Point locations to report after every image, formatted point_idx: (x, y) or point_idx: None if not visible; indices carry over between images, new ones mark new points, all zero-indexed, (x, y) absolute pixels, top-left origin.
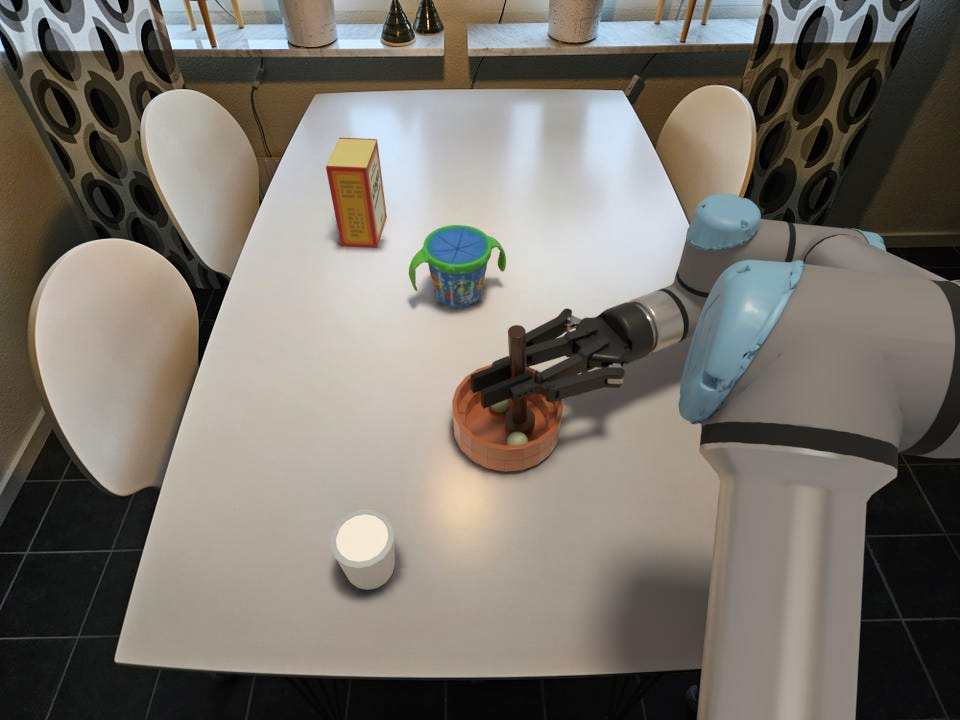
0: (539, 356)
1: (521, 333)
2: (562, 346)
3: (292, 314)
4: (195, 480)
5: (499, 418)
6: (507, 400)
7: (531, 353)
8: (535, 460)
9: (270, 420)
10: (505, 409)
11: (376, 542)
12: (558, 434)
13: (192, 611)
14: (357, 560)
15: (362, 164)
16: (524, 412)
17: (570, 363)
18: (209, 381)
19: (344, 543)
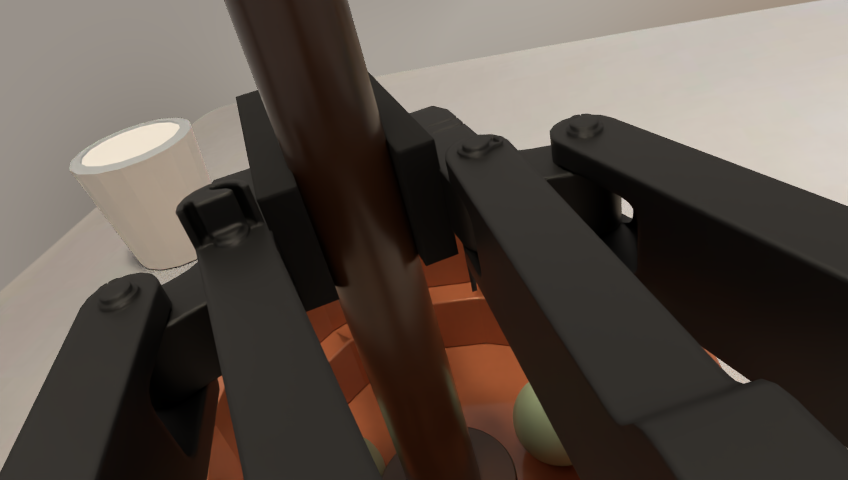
0: (494, 276)
1: None
2: (589, 405)
3: (823, 47)
4: (415, 79)
5: (509, 445)
6: (544, 429)
7: (463, 189)
8: None
9: (520, 96)
10: (521, 442)
11: (107, 159)
12: None
13: (231, 125)
14: (95, 148)
15: None
16: (395, 447)
17: (264, 431)
18: (601, 39)
19: (138, 131)
